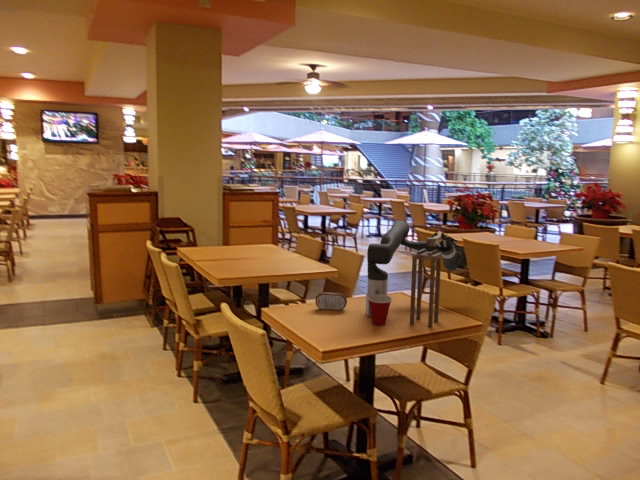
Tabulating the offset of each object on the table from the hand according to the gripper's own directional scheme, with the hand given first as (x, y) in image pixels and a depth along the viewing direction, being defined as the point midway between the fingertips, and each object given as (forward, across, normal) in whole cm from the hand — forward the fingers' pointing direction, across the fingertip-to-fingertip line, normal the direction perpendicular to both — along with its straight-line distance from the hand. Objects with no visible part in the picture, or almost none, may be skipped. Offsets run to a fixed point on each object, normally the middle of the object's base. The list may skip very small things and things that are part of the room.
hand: (438, 234), depth 244 cm
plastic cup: (+7, -16, +47) cm, 51 cm away
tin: (-2, -45, +43) cm, 62 cm away
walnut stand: (-4, 0, +41) cm, 41 cm away
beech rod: (+2, 0, +5) cm, 5 cm away
